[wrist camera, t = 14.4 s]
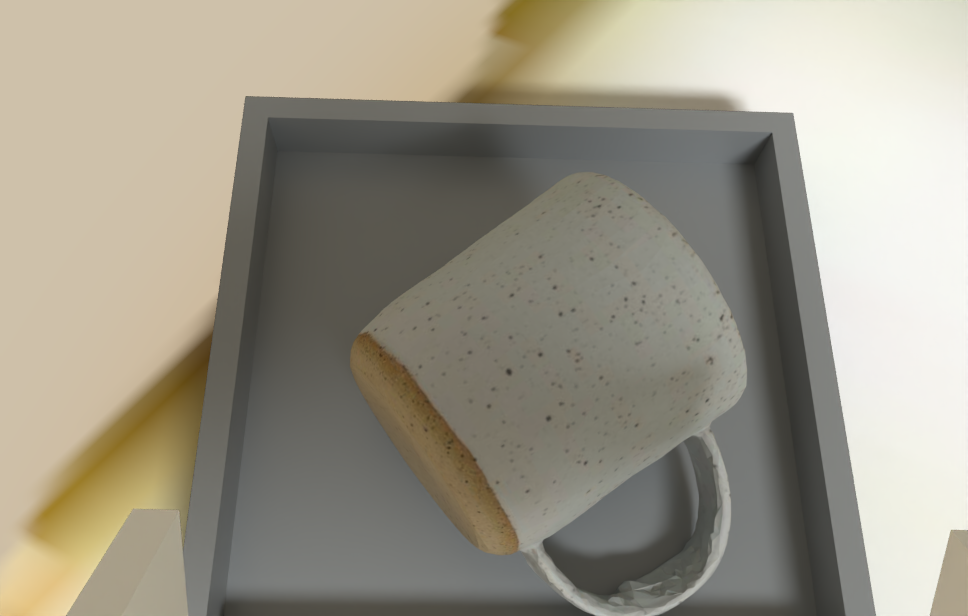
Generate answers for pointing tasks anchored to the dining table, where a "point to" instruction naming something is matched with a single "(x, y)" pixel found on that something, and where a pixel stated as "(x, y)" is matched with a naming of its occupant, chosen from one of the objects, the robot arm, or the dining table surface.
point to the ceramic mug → (562, 380)
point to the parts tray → (425, 249)
